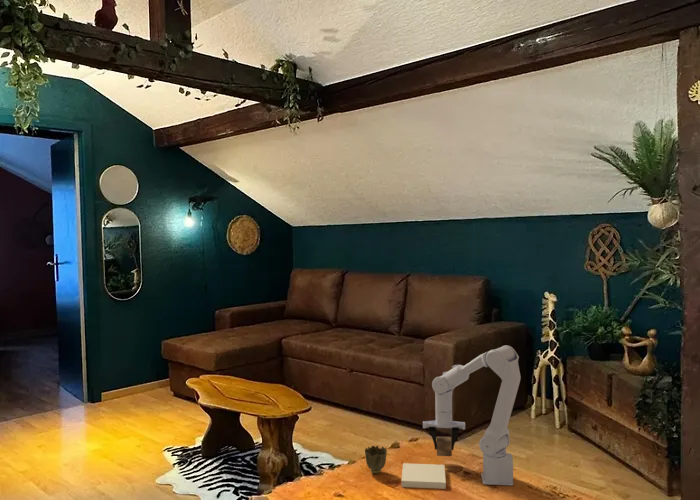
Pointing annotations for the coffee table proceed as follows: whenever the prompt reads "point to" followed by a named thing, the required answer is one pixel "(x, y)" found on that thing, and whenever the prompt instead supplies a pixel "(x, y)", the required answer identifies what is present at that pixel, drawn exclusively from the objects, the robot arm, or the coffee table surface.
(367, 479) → the coffee table surface
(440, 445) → the walnut block
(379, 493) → the coffee table surface
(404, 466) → the base board
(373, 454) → the cup
